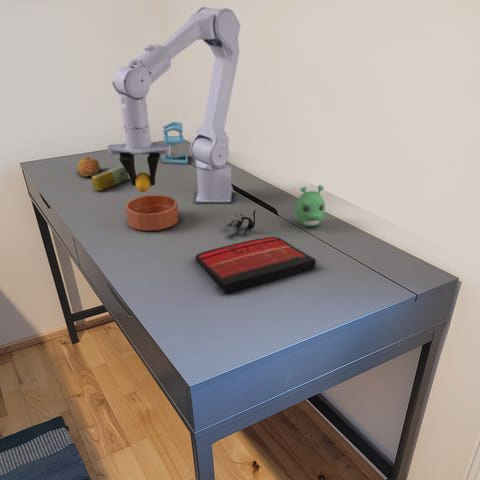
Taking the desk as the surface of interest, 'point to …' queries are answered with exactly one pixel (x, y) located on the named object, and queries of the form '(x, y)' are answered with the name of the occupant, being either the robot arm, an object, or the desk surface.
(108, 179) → the medication box
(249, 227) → the creature
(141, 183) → the blob
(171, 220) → the bowl
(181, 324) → the desk surface
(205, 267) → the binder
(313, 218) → the alien toy
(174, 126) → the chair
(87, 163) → the pastry
